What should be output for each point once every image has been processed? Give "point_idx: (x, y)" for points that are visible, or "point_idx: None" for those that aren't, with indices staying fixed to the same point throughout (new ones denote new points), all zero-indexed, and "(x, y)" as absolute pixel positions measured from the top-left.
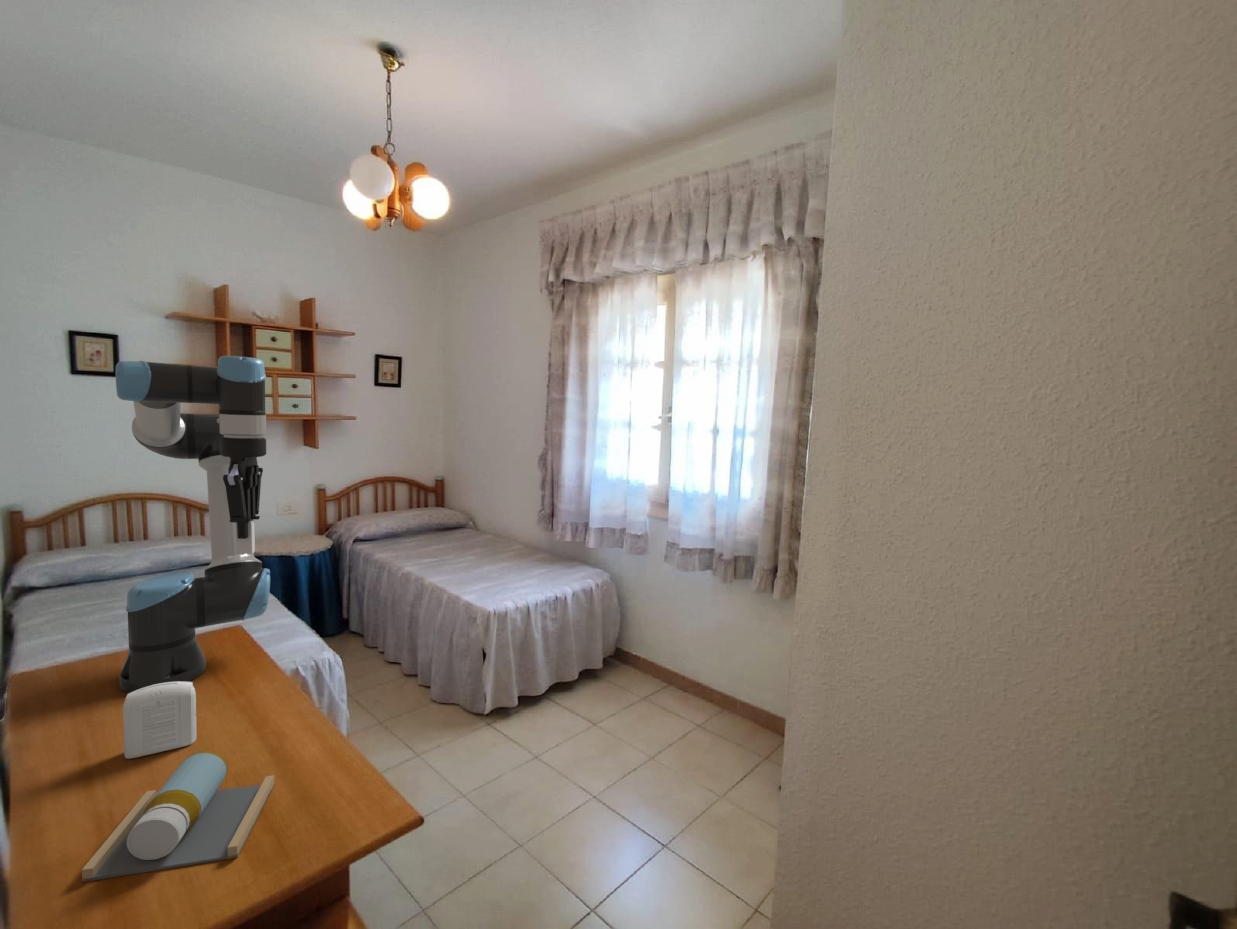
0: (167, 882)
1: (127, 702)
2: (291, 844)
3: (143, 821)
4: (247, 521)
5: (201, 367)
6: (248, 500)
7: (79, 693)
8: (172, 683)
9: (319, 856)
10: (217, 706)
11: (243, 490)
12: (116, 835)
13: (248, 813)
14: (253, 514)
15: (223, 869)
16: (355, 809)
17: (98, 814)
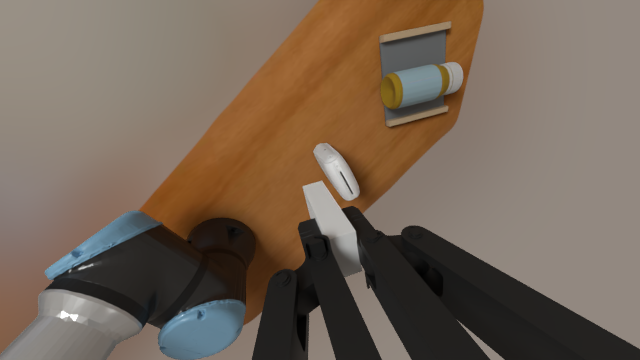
0: (453, 59)
1: (359, 191)
2: None
3: (461, 83)
4: (378, 233)
5: None
6: (433, 305)
7: (259, 277)
8: (341, 175)
9: None
10: (267, 162)
11: (578, 354)
12: (426, 113)
13: (422, 31)
14: (331, 261)
15: (451, 27)
16: None
17: (393, 146)
